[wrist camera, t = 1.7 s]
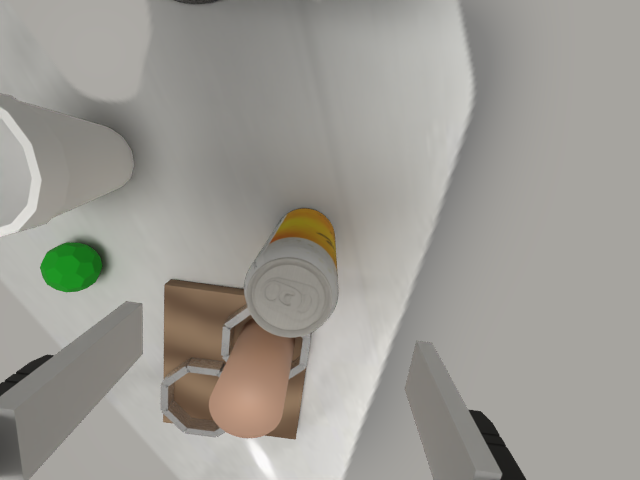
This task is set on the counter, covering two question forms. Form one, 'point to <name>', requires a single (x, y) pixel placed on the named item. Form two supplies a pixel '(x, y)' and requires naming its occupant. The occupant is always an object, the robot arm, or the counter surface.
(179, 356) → the pin board
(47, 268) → the polyhedron
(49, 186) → the foam cup
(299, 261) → the beer can
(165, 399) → the socket collars
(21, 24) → the counter surface
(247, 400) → the pin
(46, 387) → the robot arm
